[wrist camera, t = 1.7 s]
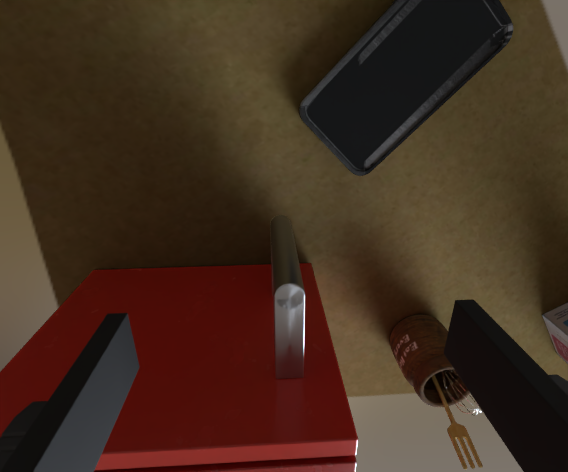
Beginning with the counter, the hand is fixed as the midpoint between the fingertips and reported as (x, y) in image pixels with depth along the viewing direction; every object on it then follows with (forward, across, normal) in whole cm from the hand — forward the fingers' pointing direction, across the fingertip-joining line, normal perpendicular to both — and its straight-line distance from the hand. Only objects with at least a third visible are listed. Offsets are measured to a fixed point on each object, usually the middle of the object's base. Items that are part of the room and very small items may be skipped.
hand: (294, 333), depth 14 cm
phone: (+17, +9, +10) cm, 22 cm away
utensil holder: (+18, +14, -15) cm, 28 cm away
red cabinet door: (+17, -7, -3) cm, 19 cm away
